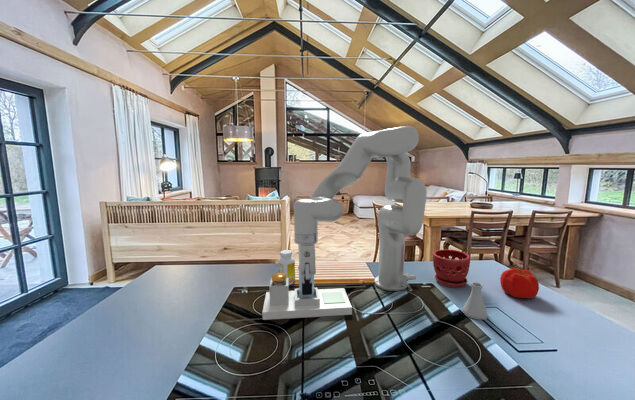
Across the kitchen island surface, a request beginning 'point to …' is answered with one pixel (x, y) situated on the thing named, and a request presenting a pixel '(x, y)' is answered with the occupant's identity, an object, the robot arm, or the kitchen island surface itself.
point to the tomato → (519, 283)
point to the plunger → (279, 278)
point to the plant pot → (451, 267)
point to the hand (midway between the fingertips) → (306, 289)
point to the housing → (304, 303)
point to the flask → (475, 303)
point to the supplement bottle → (287, 265)
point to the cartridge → (301, 285)
